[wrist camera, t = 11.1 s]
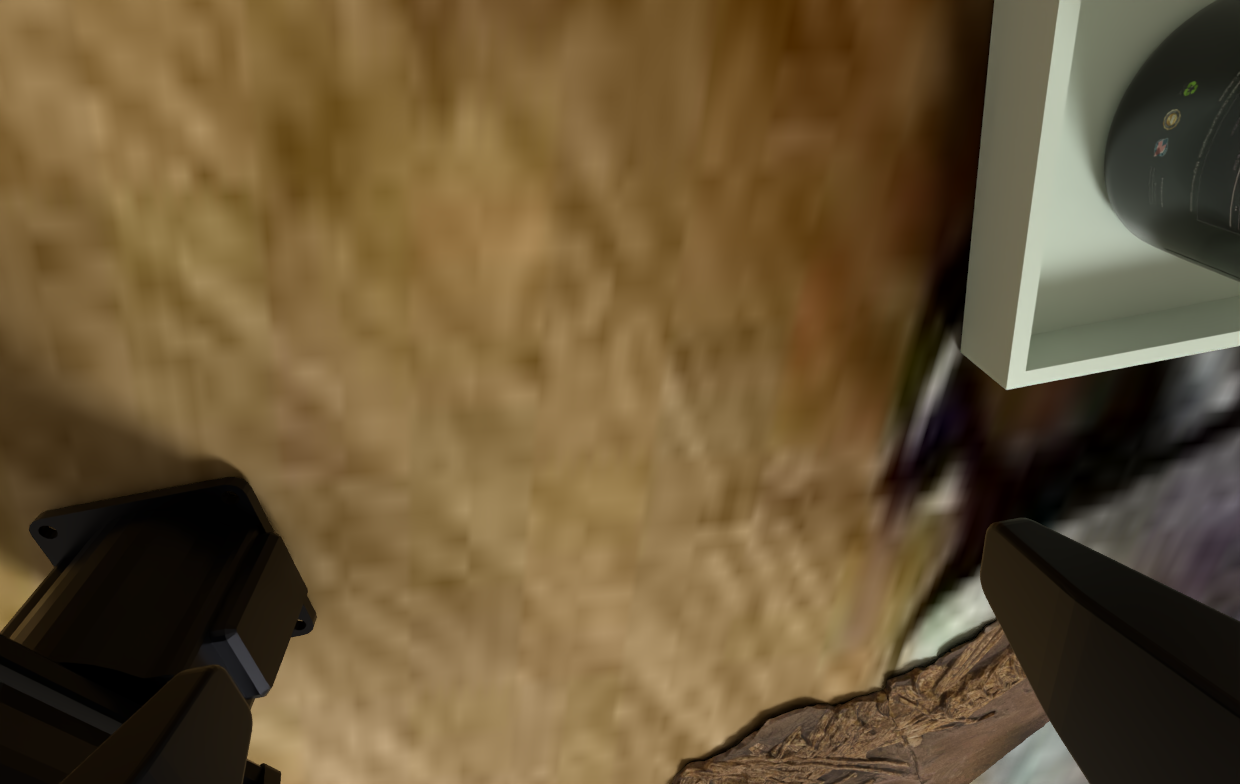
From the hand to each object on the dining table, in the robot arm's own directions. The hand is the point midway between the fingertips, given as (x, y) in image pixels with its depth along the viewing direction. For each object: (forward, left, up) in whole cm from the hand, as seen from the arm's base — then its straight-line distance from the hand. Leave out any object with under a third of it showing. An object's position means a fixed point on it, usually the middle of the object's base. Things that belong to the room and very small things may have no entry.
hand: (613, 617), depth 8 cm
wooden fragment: (+8, -26, -14) cm, 30 cm away
